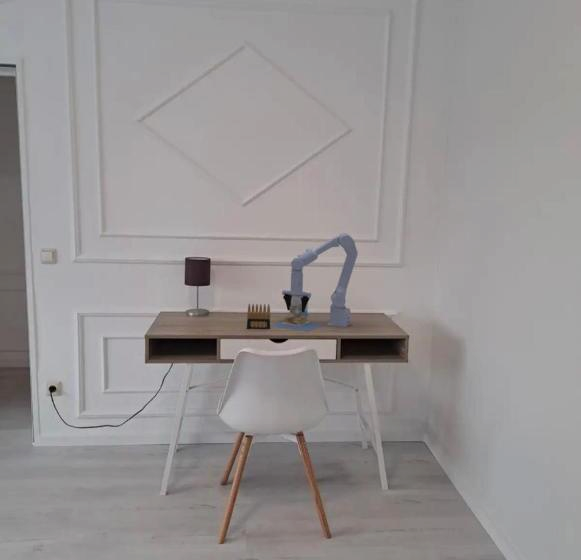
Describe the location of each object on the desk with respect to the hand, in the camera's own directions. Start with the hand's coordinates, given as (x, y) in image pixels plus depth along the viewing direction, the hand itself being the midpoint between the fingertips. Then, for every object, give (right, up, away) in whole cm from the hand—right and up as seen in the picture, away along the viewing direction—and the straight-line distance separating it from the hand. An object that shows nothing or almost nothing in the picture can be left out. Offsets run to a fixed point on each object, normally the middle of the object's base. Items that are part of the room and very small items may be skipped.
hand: (296, 310), depth 250 cm
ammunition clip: (-17, -8, -13) cm, 23 cm away
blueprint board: (+1, -7, -4) cm, 8 cm away
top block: (0, -3, 0) cm, 3 cm away
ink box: (+2, -4, +20) cm, 20 cm away
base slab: (0, -6, +1) cm, 6 cm away
